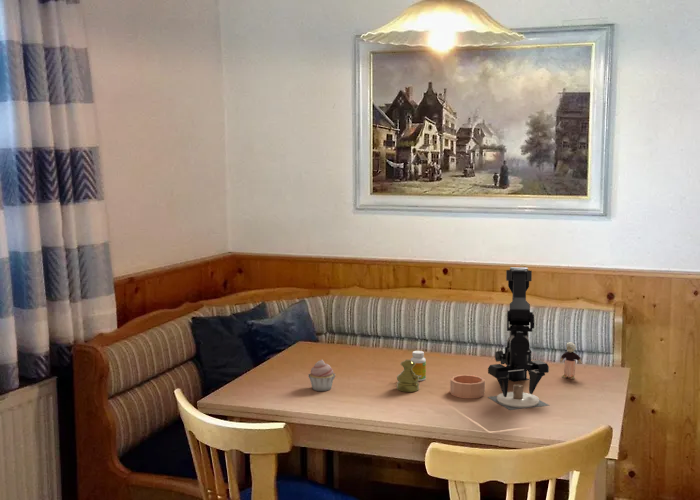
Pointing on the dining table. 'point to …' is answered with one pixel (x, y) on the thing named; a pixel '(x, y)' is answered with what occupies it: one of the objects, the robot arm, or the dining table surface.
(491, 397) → the mat
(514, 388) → the lid
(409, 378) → the olive green figurine
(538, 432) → the dining table surface
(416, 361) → the supplement bottle
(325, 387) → the cupcake
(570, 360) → the grandmother figurine
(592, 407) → the dining table surface
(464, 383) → the bowl
